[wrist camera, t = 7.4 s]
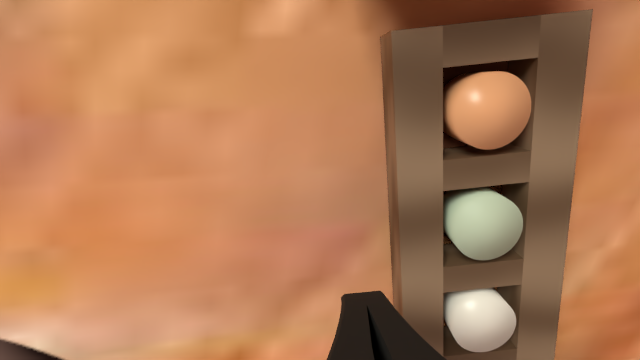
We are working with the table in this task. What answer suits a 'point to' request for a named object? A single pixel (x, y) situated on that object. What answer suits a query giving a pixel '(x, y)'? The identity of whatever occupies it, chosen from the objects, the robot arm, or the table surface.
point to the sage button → (481, 222)
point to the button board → (484, 173)
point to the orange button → (485, 108)
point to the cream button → (478, 318)
